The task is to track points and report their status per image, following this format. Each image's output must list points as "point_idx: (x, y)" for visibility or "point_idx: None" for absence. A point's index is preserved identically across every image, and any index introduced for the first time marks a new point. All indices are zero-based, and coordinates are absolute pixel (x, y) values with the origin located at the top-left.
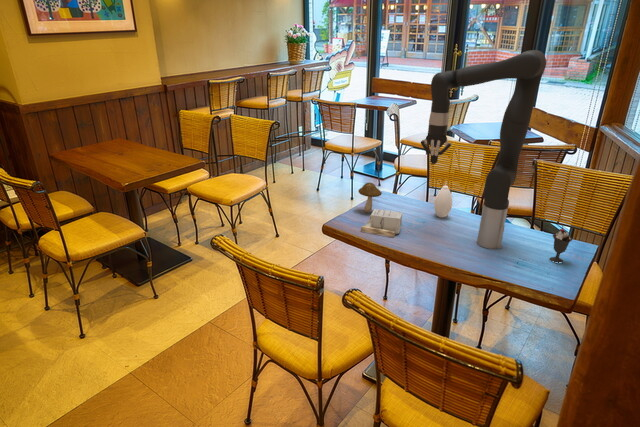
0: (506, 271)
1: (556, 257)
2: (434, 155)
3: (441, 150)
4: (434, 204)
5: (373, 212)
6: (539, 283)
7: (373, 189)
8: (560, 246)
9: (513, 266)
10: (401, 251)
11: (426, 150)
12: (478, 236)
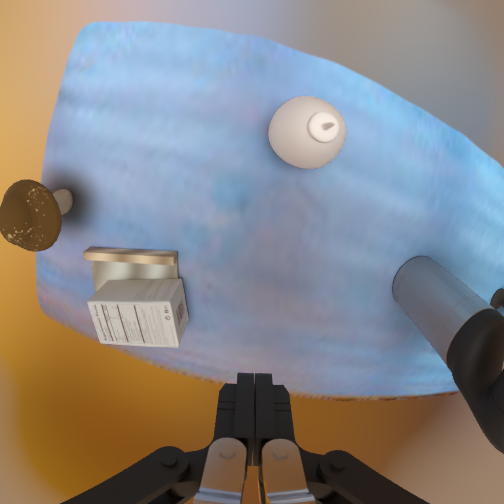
0: (414, 371)
1: (500, 304)
2: (252, 451)
3: (334, 490)
4: (270, 142)
5: (97, 327)
6: (445, 378)
7: (30, 235)
8: None
9: (431, 351)
10: (219, 381)
11: (157, 497)
12: (400, 301)
